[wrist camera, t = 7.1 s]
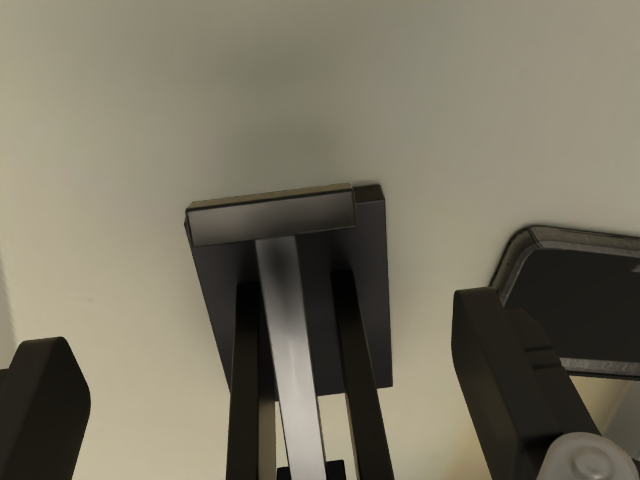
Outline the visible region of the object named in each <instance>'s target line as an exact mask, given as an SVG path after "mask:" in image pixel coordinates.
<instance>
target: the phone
mask: <svg viewBox="0 0 640 480" xmlns="http://www.w3.org/2000/svg"><path fill="white" fill-rule="evenodd" d="M491 287H493V288H494V289H495V291H496V293H497V295H498V297H499V299H500V301H501V303H502V305H503V307H504V309H505V310H511V309H520V308H522V309H523V310H524V311H526V312H527V313H528V314H529V315H530V316H532V317H533V318H534V319H535V320H536V321H538V322H539V323H540V324H541V325H542V327H543V329H544V330H545V332H546V334H547V336H548V338H549V340H550V342H551V343H552V347H553V349H555V351H556V353H557V355H558V356H559V358H560V360H561V364H562V366H564V368H565V370H566V371H567V373H568V375H571V376H583V377H596V378H609V379H622V380H634V381H640V239H639V238H631V237H623V236H615V235H607V234H598V233H590V232H582V231H574V230H566V229H557V228H549V227H532V228H528V229H525V230H524V231H522V232H520V233H518V234H517V235H516V236H515V237H514V238H513V239H512V240H511V242H510V243H509V245H508V247H507V249H506V252H505V254H504V256H503V258H502V261H501V263H500V265H499V268H498V270H497V272H496V274H495V277H494V279H493V281H492V284H491Z"/></svg>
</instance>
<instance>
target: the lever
mask: <svg viewBox="0 0 640 480" xmlns="http://www.w3.org/2000/svg"><path fill="white" fill-rule="evenodd" d="M185 215H186V220H187V226H188V231H189V237H190V243H191V246H192V248H200V247H208V246H216V245H224V244H232V243H240V242H248V241H255V247H256V254H257V260H258V267H259V274H260V280H261V287H262V293H263V300H264V307H265V313H266V320H267V327H268V333H269V340H270V347H271V353H272V360H273V367H274V373H275V380H276V387H277V393H278V400H279V406H280V413H281V420H282V426H283V433H284V440H285V446H286V453H287V460H288V467H280V468H277V480H346V474H345V466H344V460H335V461H328V462H326V456H325V448H324V441H323V433H322V425H321V418H320V410H319V403H318V395H317V388H316V380H315V373H314V365H313V358H312V350H311V343H310V335H309V327H308V320H307V312H306V305H305V297H304V290H303V282H302V275H301V267H300V260H299V252H298V245H297V237H296V235H304V234H312V233H320V232H328V231H336V230H344V229H352V228H356V227H357V225H358V222H357V213H356V203H355V194H354V190H353V188H352V186H351V184H350V183H341V184H333V185H325V186H317V187H309V188H301V189H293V190H284V191H276V192H268V193H260V194H252V195H244V196H236V197H228V198H220V199H212V200H204V201H196V202H192V203H191V204H190V205H189V206H188V207H187V208H186V210H185Z"/></svg>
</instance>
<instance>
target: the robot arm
mask: <svg viewBox="0 0 640 480" xmlns="http://www.w3.org/2000/svg"><path fill="white" fill-rule="evenodd" d="M451 349H452V358H453V363H454V368H455V371H456V375H457V378H458V380H459V383H460V386H461V389H462V392H463V395H464V398H465V401H466V404H467V407H468V410H469V413H470V416H471V419H472V421H473V424H474V427H475V430H476V433H477V436H478V439H479V442H480V445H481V448H482V451H483V454H484V457H485V460H486V462H487V465H488V468H489V471H490V474H491V477H492V480H640V461H637V460H635V459H633V458H630V456H629V455H628V454H627V453H626V452H625V451H624V450H623V449H622V448H621V447H619V446H618V445H617V444H615V443H614V442H612V441H610V440H609V439H606V438H604V437H603V436H602V435H601V433H600V432H599V430H598V429H597V427H596V425H595V423H594V422H593V420H592V418H591V416H590V414H589V412H588V410H587V409H586V407H585V405H584V403H583V401H582V399H581V397H580V396H579V394H578V392H577V390H576V388H575V386H574V384H573V383H572V381H571V379H570V377H569V375H568V373H567V371H566V370H565V368H564V366H562V364H561V360H560V358H559V356H558V355H557V353H556V351H555V349H553V347H552V343H551V342H550V340H549V338H548V336H547V334H546V332H545V330H544V329H543V327H542V325H541V324H540V323H539V322H538V321H536V320H535V319H534V318H533V317H532V316H530V315H529V314H528V313H527V312H526V311H524V310H523V309H522V308H520V309H511V310H505V309H504V307H503V305H502V303H501V301H500V299H499V297H498V295H497V293H496V291H495V289H494V288H493V287H491V286H489V287H481V288H472V289H464V290H456V291H455V293H454V300H453V319H452V338H451ZM90 408H91V398H90V391H89V387H88V385H87V382H86V380H85V378H84V376H83V374H82V372H81V369H80V367H79V365H78V363H77V361H76V359H75V357H74V355H73V352H72V350H71V348H70V346H69V344H68V342H67V340H66V339H65V338H64V337H52V338H44V339H36V340H27V341H23V342H22V343H21V344H20V345H19V347H18V349H17V351H16V353H15V355H14V358H13V360H12V362H11V364H10V367H9V369H1V370H0V480H72V476H73V472H74V469H75V465H76V462H77V458H78V455H79V451H80V448H81V444H82V441H83V437H84V433H85V430H86V426H87V423H88V419H89V415H90Z"/></svg>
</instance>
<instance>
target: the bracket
mask: <svg viewBox="0 0 640 480" xmlns="http://www.w3.org/2000/svg"><path fill="white" fill-rule="evenodd" d="M353 190H354V194H355V203H356V213H357V222H358V225H357V227H356V228H352V229H344V230H336V231H328V232H320V233H312V234H304V235H296V237H297V245H298V252H299V260H300V267H301V275H302V282H303V290H304V297H305V305H306V312H307V320H308V327H309V335H310V343H311V350H312V358H313V365H314V373H315V380H316V388H317V395H318V396H324V395H332V394H340V393H345V399H346V406H347V413H348V420H349V427H350V434H351V441H352V448H353V455H354V462H355V469H356V476H357V480H395V479H394V474H393V469H392V464H391V459H390V454H389V449H388V444H387V439H386V434H385V429H384V424H383V419H382V414H381V409H380V404H379V399H378V394H377V389H379V388H387V387H392V386H393V376H392V352H391V329H390V305H389V281H388V258H387V234H386V211H385V198H384V195H383V192H382V189H381V186H380V185H375V186H367V187H359V188H353ZM184 226H185V230H186V234H187V237H188V241H189V245H190V248H191V252H192V256H193V259H194V263H195V267H196V270H197V274H198V278H199V281H200V285H201V289H202V292H203V296H204V300H205V303H206V307H207V311H208V314H209V318H210V322H211V325H212V329H213V333H214V336H215V340H216V344H217V347H218V351H219V355H220V358H221V362H222V366H223V369H224V373H225V377H226V380H227V384H228V388H229V391H230V412H229V430H228V448H227V466H226V480H276V433H275V402H276V401H279V400H278V393H277V387H276V380H275V373H274V367H273V360H272V353H271V347H270V340H269V333H268V327H267V320H266V313H265V307H264V300H263V293H262V287H261V280H260V274H259V267H258V260H257V254H256V247H255V241H248V242H240V243H232V244H224V245H216V246H208V247H200V248H192V246H191V243H190V237H189V231H188V226H187V220H186V218H185V223H184Z"/></svg>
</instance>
